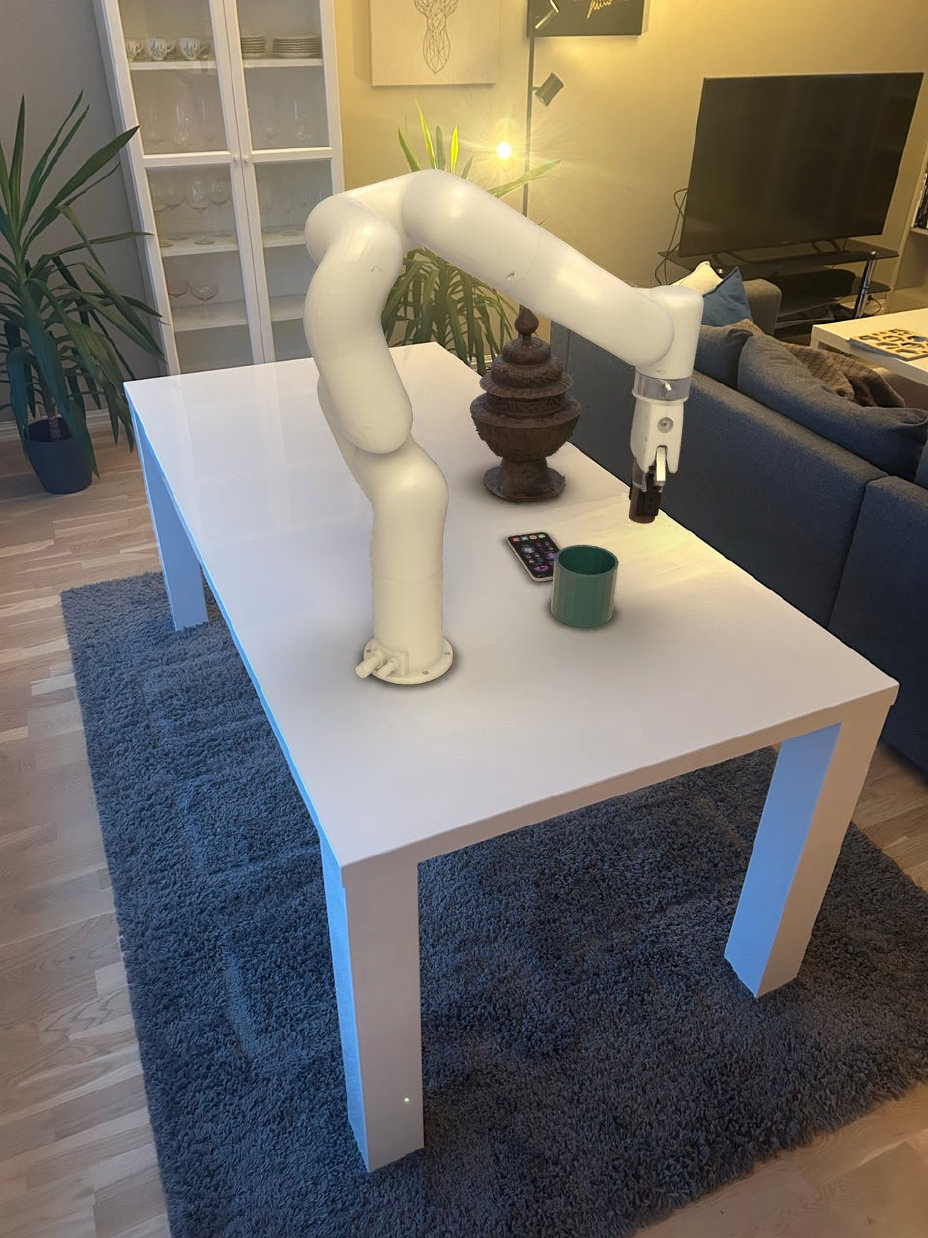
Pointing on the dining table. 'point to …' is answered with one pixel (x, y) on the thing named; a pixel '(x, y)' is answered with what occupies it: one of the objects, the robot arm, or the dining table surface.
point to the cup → (584, 585)
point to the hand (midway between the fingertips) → (643, 506)
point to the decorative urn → (525, 415)
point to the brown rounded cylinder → (636, 486)
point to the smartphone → (535, 553)
